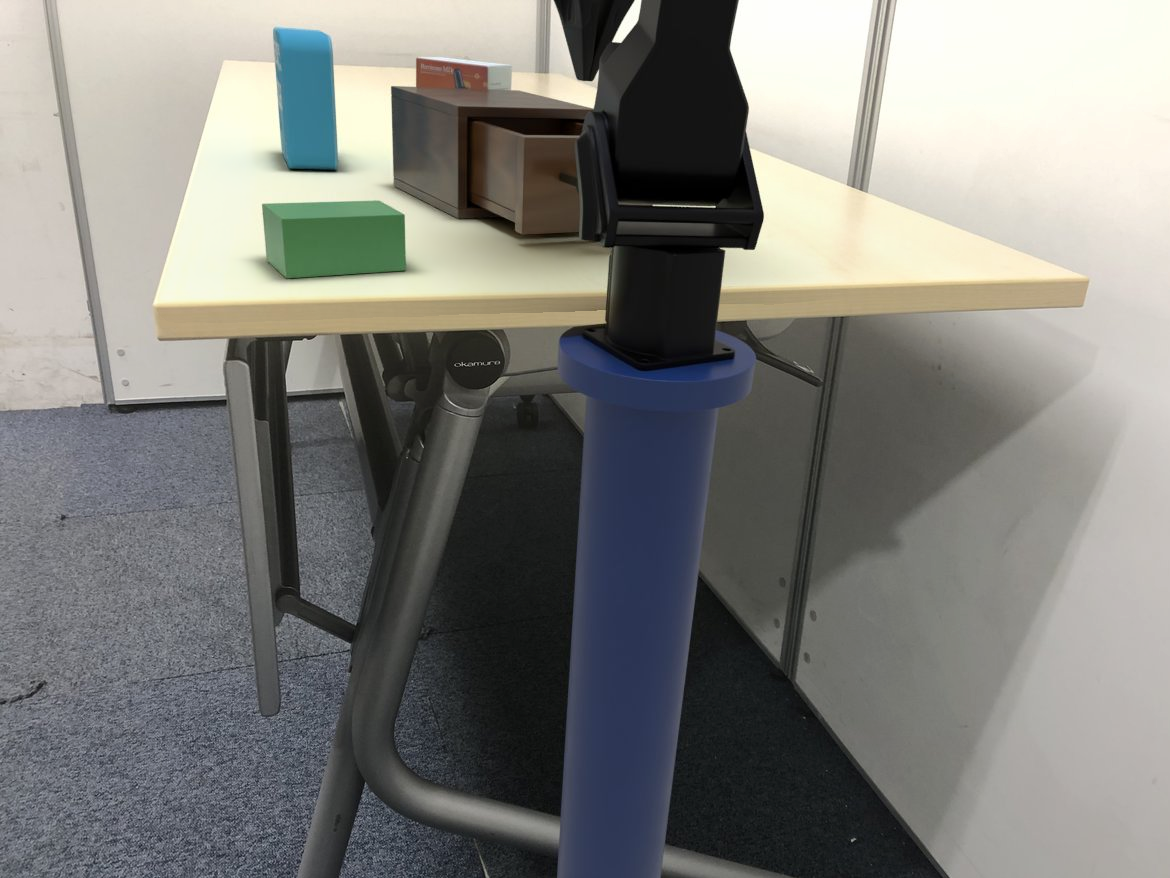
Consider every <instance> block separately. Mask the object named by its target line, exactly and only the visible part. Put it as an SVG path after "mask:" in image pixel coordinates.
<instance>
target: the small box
mask: <svg viewBox="0 0 1170 878" xmlns="http://www.w3.org/2000/svg"><path fill="white" fill-rule="evenodd" d="M512 76H513V66H512V65H511V64H509V63H497V62H489V61H477V60H469V59H462V58H461V59H459V58H451V57H444V56H417V57H416V58H415V87H435V88H463V89H491V90H512V79H513V77H512Z"/></svg>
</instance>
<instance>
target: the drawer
mask: <svg viewBox="0 0 1170 878" xmlns="http://www.w3.org/2000/svg"><path fill="white" fill-rule="evenodd" d="M582 129H583V123H581V122H577V121H573V120H569V119H543V118H491V117H467V200H468V201H470V202H472V203H474V204H476V205H478V206H480V207H483V208H485V209H487V210H489V211H491V212H493V213H495V214H498V215H500V216H502V217H501V218H504V219H506V220H508V221H510V222H513V223H514V231H515V232H516V233H518V234H520V235H541V234H544V235H545V234H558V233H562V234H563V233H579V226H580V196H579V187H578V177H577V167H576V158H575V141H576V140H577V139H578V138H579V137H580V135H581V132H582ZM619 205H641V204H619ZM647 206H654V205H647Z"/></svg>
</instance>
